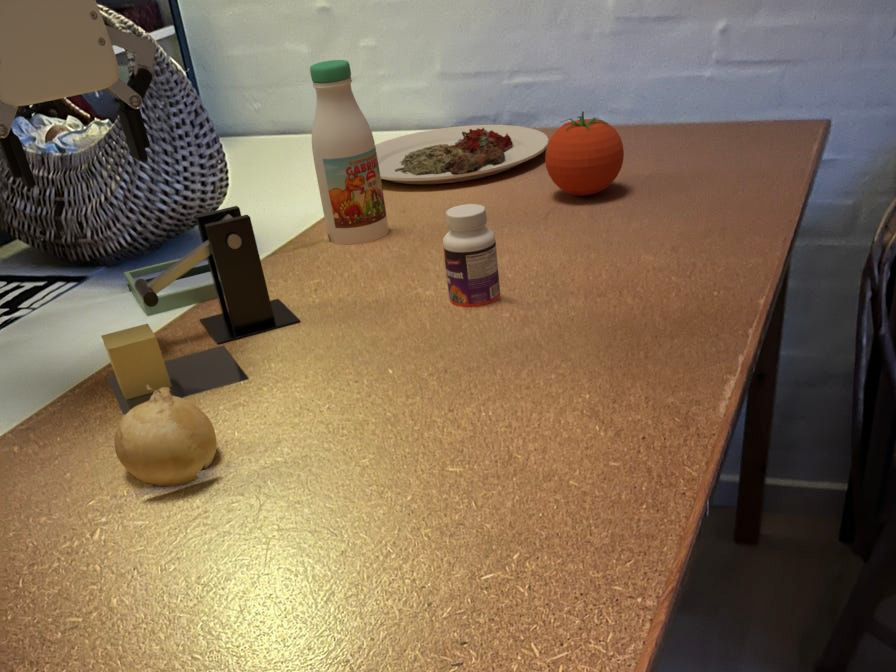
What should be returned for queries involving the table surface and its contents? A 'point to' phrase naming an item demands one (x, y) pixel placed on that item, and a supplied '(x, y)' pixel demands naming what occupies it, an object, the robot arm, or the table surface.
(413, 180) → the plated food
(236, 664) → the table surface
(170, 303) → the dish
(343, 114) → the milk bottle
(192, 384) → the board
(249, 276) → the black lever stand
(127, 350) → the yellow rectangular block
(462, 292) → the pill bottle
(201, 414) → the onion
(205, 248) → the lever
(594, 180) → the tomato
